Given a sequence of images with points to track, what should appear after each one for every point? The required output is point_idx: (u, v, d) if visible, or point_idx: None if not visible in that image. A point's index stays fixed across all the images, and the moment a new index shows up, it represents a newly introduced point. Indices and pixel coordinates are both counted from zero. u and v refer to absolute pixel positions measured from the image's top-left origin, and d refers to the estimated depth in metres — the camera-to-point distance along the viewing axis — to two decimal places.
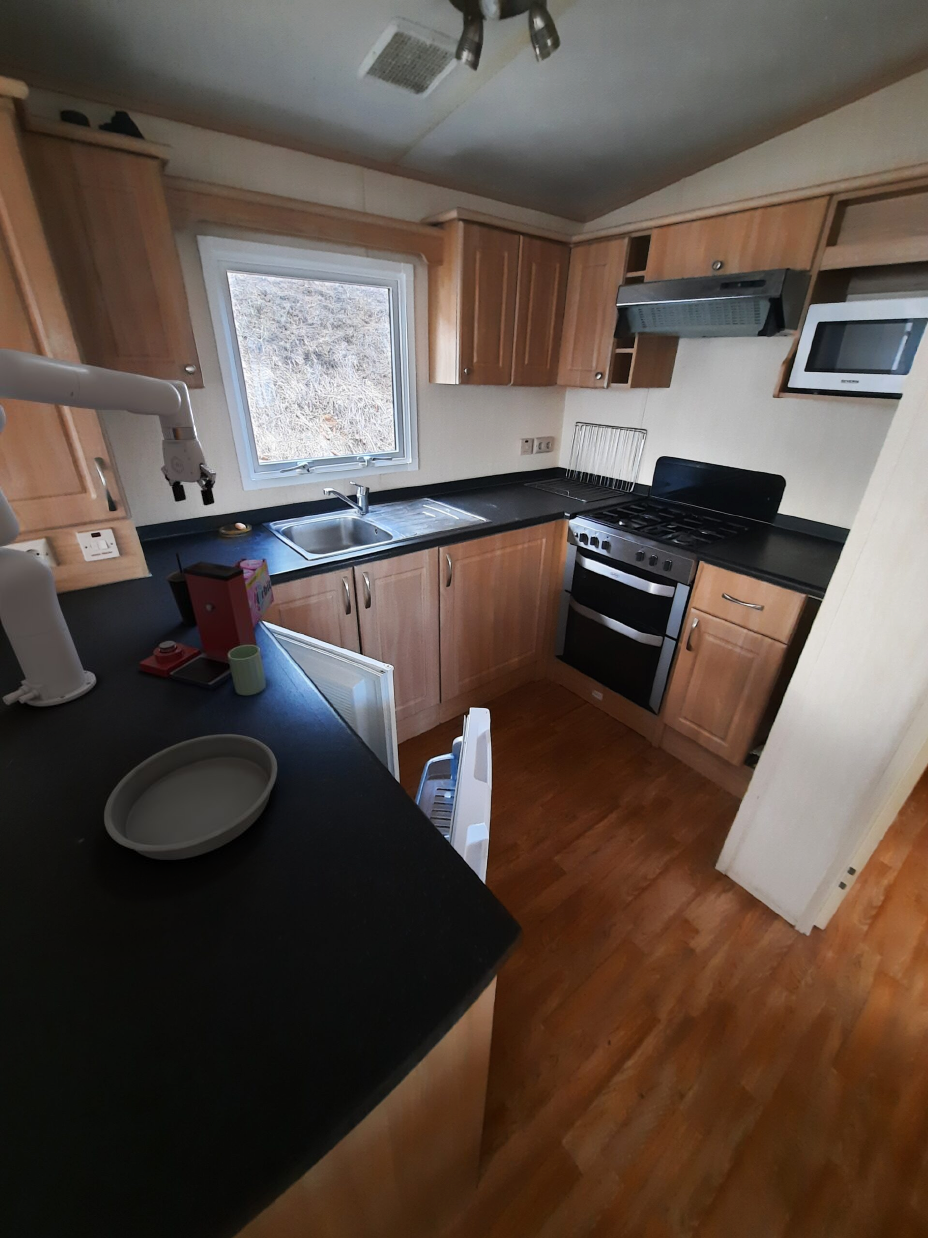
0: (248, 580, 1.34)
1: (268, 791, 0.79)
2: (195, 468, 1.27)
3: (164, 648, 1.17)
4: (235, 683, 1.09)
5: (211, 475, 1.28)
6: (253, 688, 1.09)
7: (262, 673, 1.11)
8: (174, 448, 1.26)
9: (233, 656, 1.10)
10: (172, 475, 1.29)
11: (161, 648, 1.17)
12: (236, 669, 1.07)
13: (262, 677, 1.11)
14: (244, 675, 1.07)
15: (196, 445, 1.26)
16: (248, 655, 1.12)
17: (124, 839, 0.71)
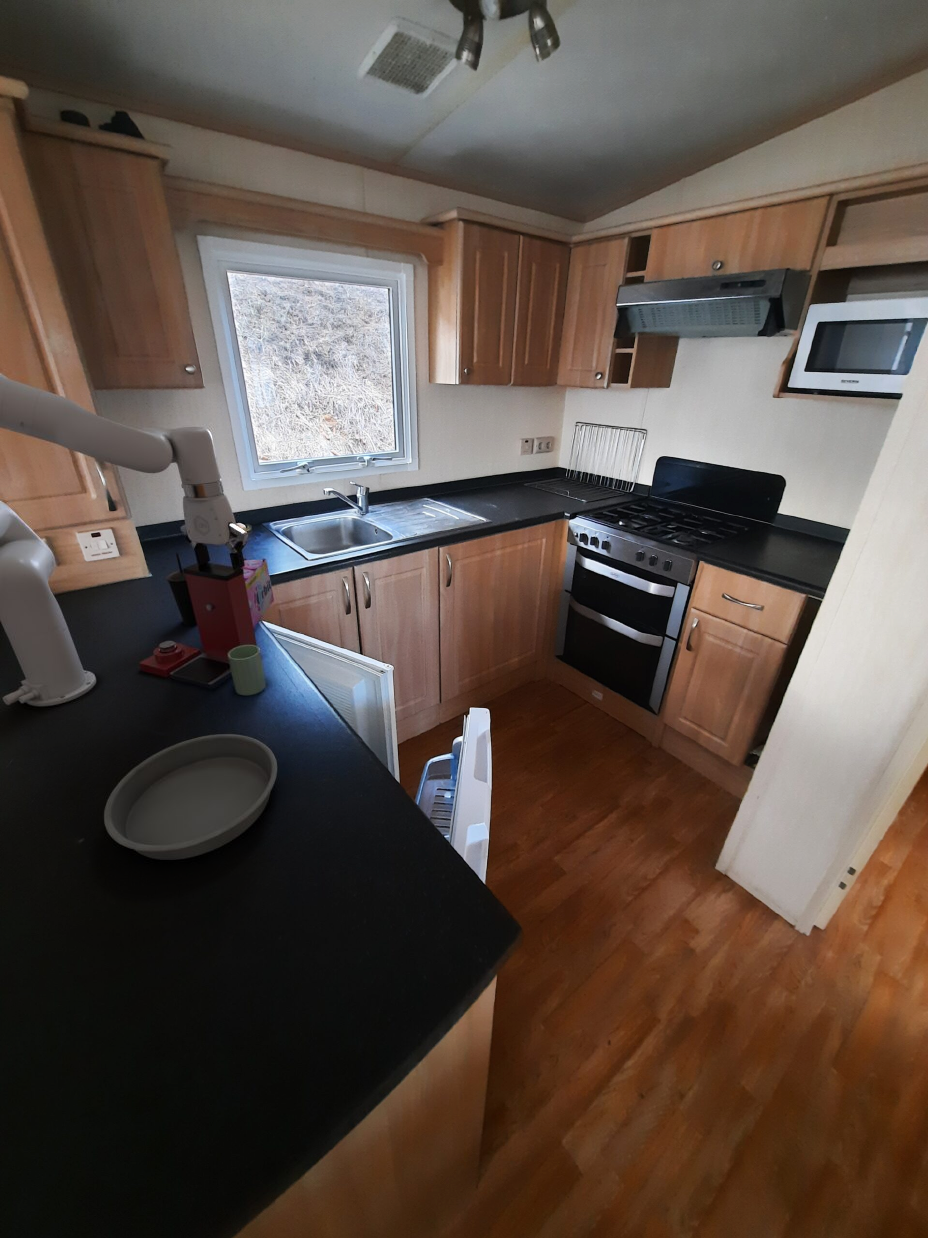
0: (248, 580, 1.34)
1: (268, 791, 0.79)
2: (223, 529, 1.07)
3: (164, 648, 1.17)
4: (235, 683, 1.09)
5: (242, 536, 1.08)
6: (253, 688, 1.09)
7: (262, 673, 1.11)
8: (198, 506, 1.06)
9: (233, 656, 1.10)
10: (195, 537, 1.10)
11: (161, 648, 1.17)
12: (236, 669, 1.07)
13: (262, 677, 1.11)
14: (244, 675, 1.07)
15: (223, 503, 1.07)
16: (248, 655, 1.12)
17: (124, 839, 0.71)
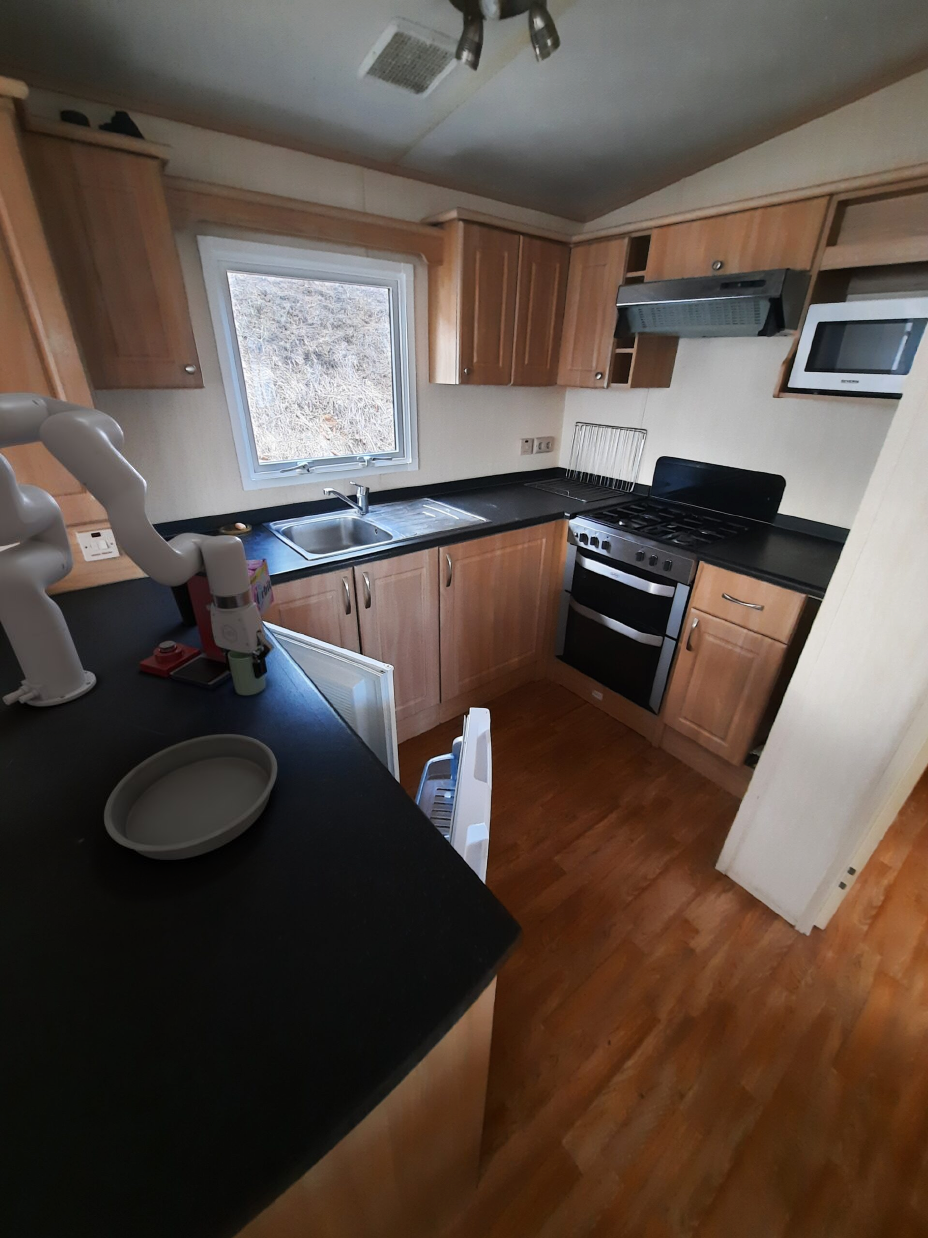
0: None
1: (268, 791, 0.79)
2: (251, 639, 1.03)
3: (164, 648, 1.17)
4: (235, 683, 1.09)
5: (268, 650, 1.05)
6: (253, 688, 1.09)
7: None
8: (226, 616, 1.02)
9: (233, 656, 1.10)
10: (222, 643, 1.05)
11: (161, 648, 1.17)
12: (236, 669, 1.07)
13: (262, 677, 1.11)
14: (244, 675, 1.07)
15: (253, 612, 1.02)
16: (248, 655, 1.12)
17: (124, 839, 0.71)
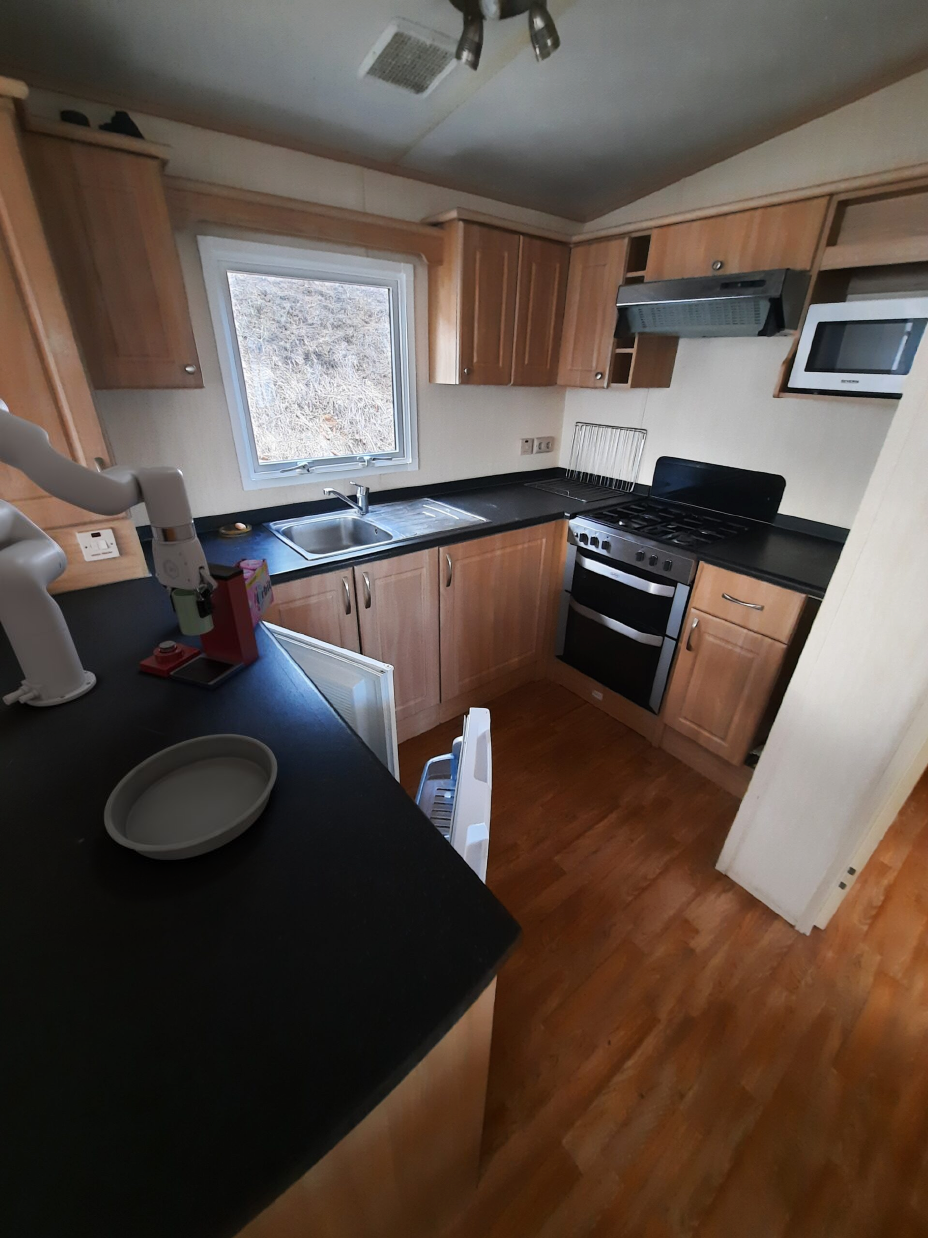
0: (248, 580, 1.34)
1: (268, 791, 0.79)
2: (193, 574, 1.01)
3: (164, 648, 1.17)
4: (180, 623, 1.07)
5: (211, 587, 1.03)
6: (198, 628, 1.07)
7: None
8: (167, 550, 1.00)
9: (178, 595, 1.08)
10: (165, 580, 1.04)
11: (161, 648, 1.17)
12: (180, 607, 1.05)
13: (208, 618, 1.09)
14: (188, 614, 1.05)
15: (194, 546, 1.00)
16: None
17: (124, 839, 0.71)
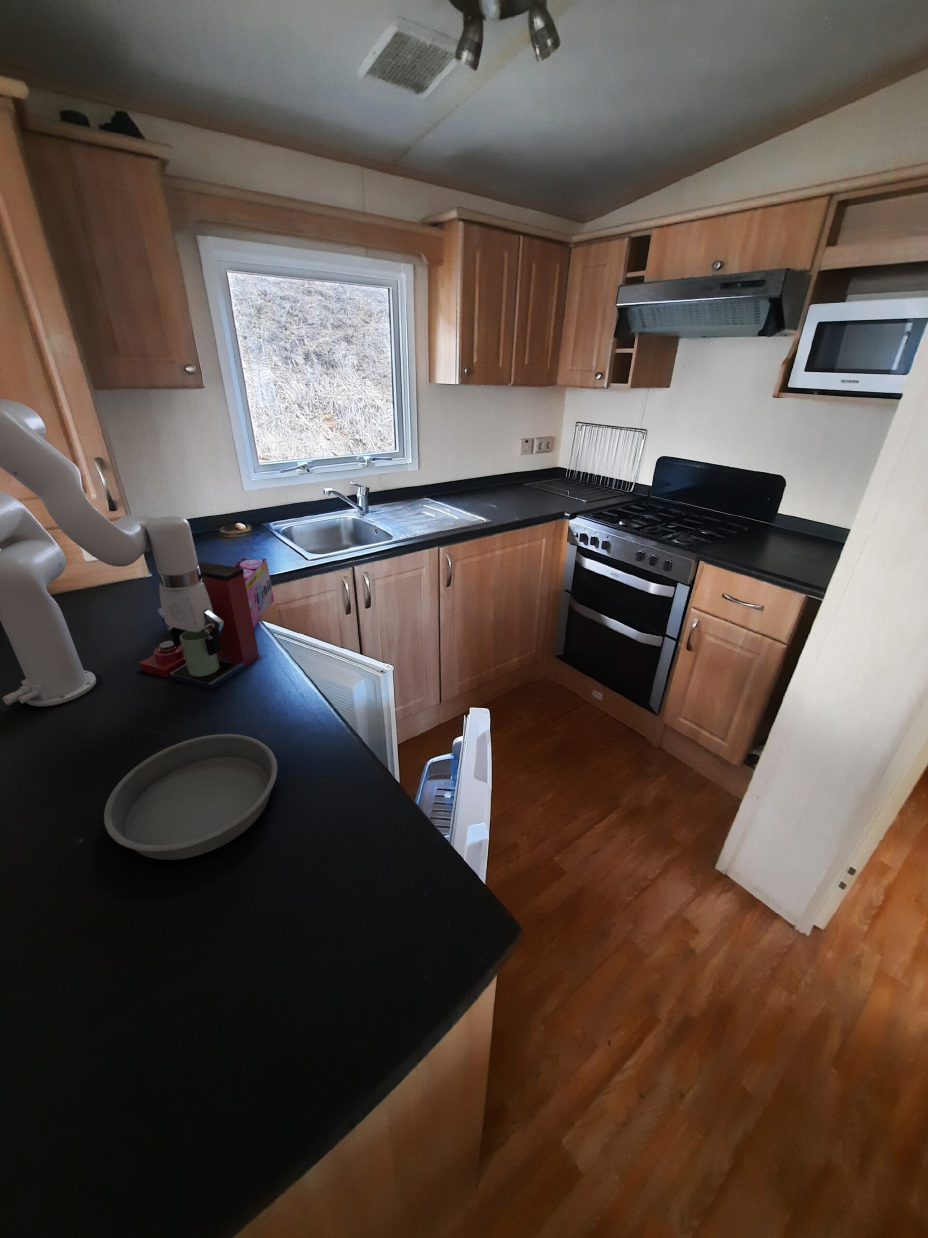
0: (248, 580, 1.34)
1: (268, 791, 0.79)
2: (198, 617, 1.06)
3: (164, 648, 1.17)
4: (187, 664, 1.12)
5: (218, 625, 1.07)
6: (205, 669, 1.13)
7: (214, 655, 1.14)
8: (174, 595, 1.04)
9: (186, 638, 1.13)
10: (171, 622, 1.08)
11: (161, 648, 1.17)
12: (187, 650, 1.10)
13: (214, 659, 1.14)
14: (195, 656, 1.11)
15: (200, 591, 1.05)
16: (201, 638, 1.15)
17: (124, 839, 0.71)
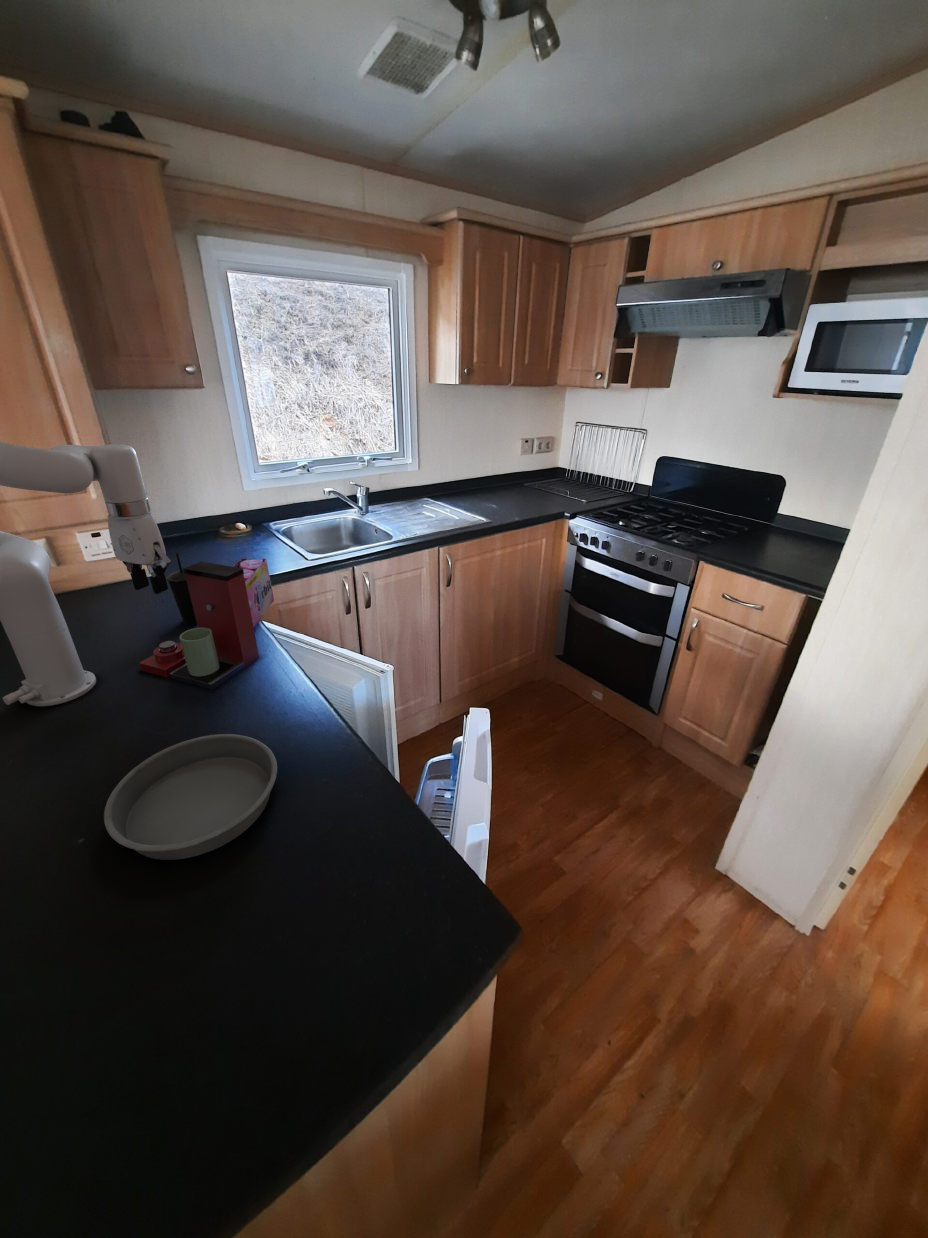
0: (248, 580, 1.34)
1: (268, 791, 0.79)
2: (147, 549, 1.04)
3: (164, 648, 1.17)
4: (187, 664, 1.12)
5: (164, 564, 1.06)
6: (205, 669, 1.13)
7: (214, 655, 1.14)
8: (121, 525, 1.03)
9: (186, 638, 1.13)
10: (121, 556, 1.07)
11: (161, 648, 1.17)
12: (187, 650, 1.10)
13: (214, 659, 1.14)
14: (195, 656, 1.11)
15: (148, 522, 1.04)
16: (201, 638, 1.15)
17: (124, 839, 0.71)
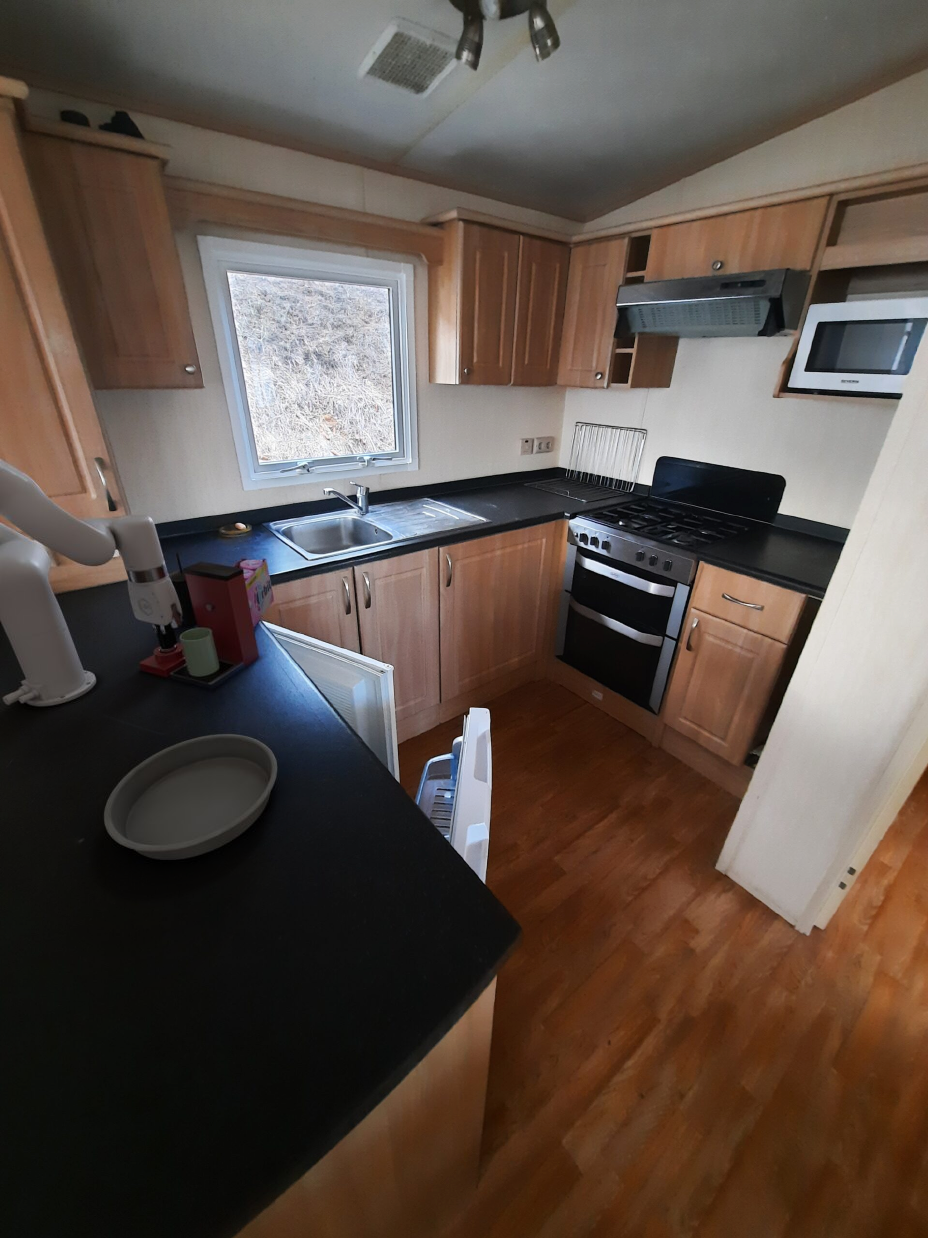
0: (248, 580, 1.34)
1: (268, 791, 0.79)
2: (165, 611, 1.10)
3: (164, 650, 1.17)
4: (187, 664, 1.12)
5: (175, 626, 1.14)
6: (205, 669, 1.13)
7: (214, 655, 1.14)
8: (141, 590, 1.09)
9: (186, 638, 1.13)
10: (140, 616, 1.13)
11: (162, 650, 1.17)
12: (187, 650, 1.10)
13: (214, 659, 1.14)
14: (195, 656, 1.11)
15: (166, 586, 1.10)
16: (201, 638, 1.15)
17: (124, 839, 0.71)
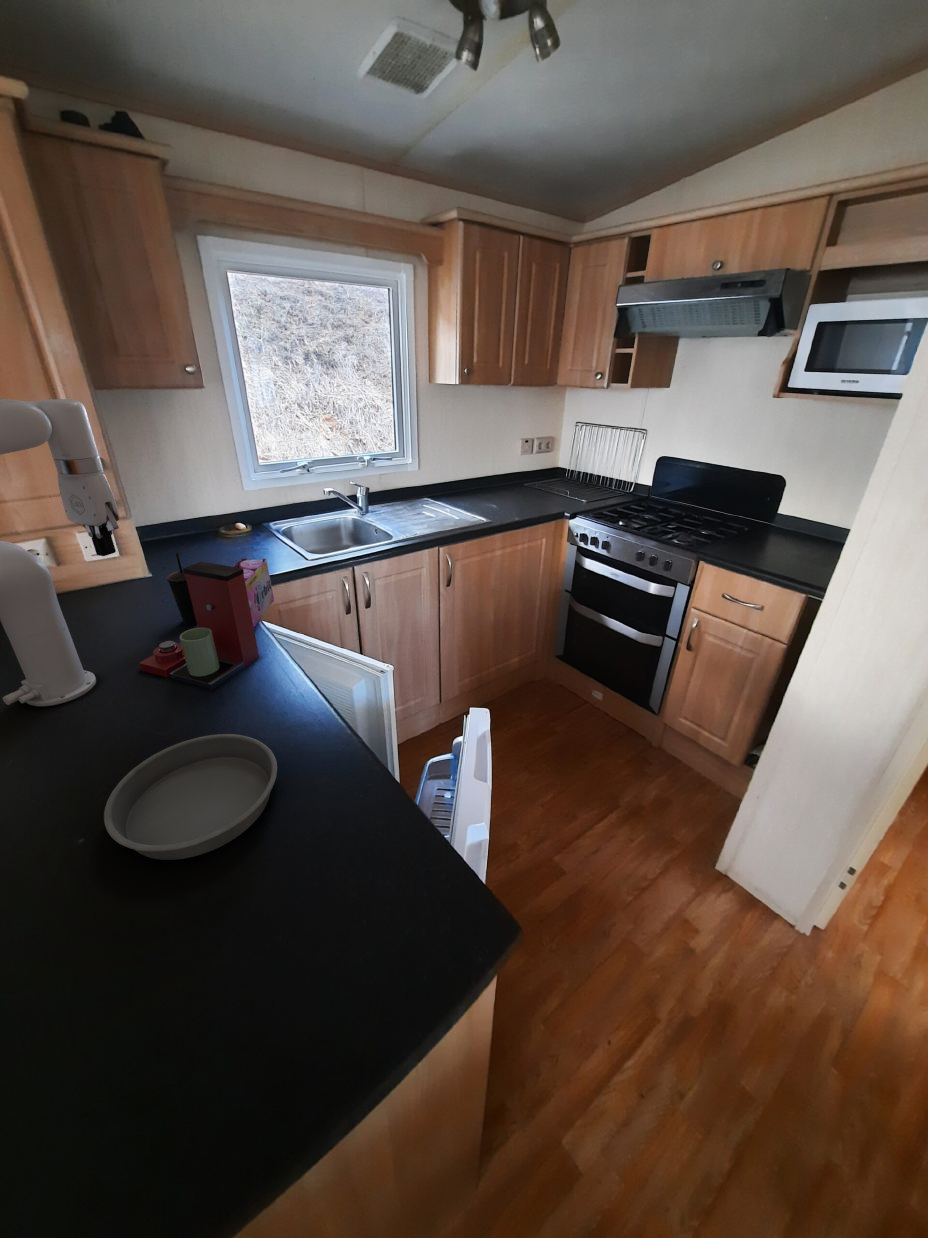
0: (248, 580, 1.34)
1: (268, 791, 0.79)
2: (98, 509, 1.01)
3: (164, 648, 1.17)
4: (187, 664, 1.12)
5: (111, 528, 1.05)
6: (205, 669, 1.13)
7: (214, 655, 1.14)
8: (71, 484, 1.00)
9: (186, 638, 1.13)
10: (72, 517, 1.04)
11: (161, 648, 1.17)
12: (187, 650, 1.10)
13: (214, 659, 1.14)
14: (195, 656, 1.11)
15: (99, 481, 1.01)
16: (201, 638, 1.15)
17: (124, 839, 0.71)
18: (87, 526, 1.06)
